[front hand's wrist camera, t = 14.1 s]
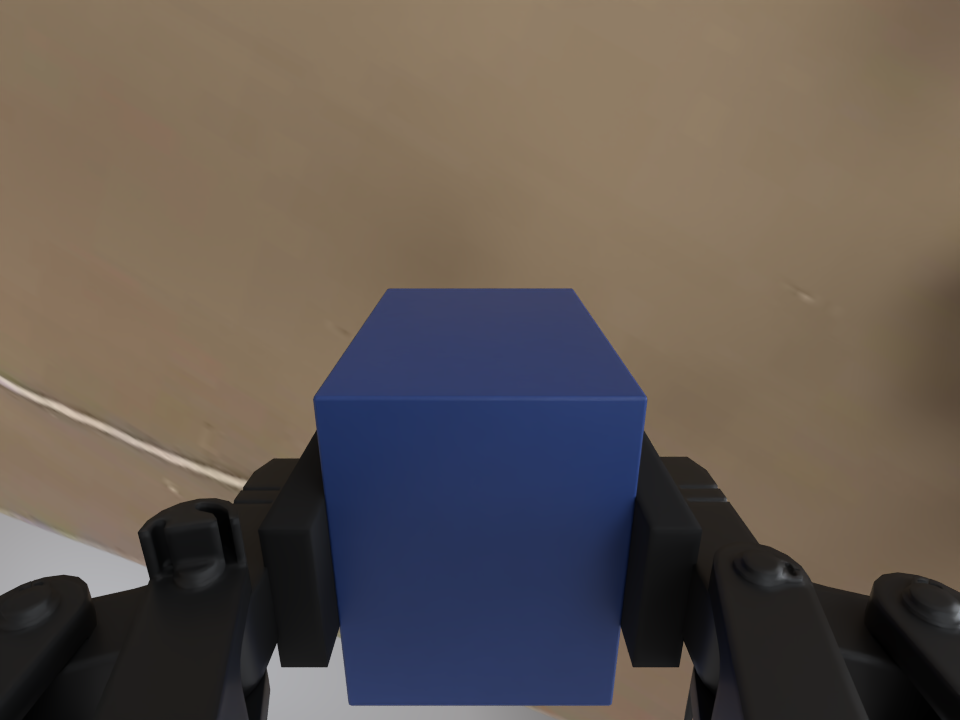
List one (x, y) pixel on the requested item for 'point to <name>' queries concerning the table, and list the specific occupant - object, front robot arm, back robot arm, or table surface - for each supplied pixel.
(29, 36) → the table surface
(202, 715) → the front robot arm
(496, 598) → the brick
